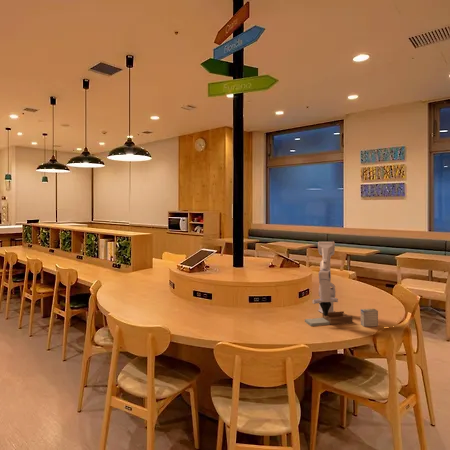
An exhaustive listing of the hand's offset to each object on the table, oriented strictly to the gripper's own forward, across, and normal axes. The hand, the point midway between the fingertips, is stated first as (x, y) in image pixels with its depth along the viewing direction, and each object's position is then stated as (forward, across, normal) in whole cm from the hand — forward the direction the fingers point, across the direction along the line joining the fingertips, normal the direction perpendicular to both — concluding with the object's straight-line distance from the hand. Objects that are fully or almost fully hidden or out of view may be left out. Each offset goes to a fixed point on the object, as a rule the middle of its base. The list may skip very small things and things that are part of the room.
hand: (325, 315), depth 202 cm
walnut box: (+4, +7, 0) cm, 8 cm away
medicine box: (+4, +20, -11) cm, 23 cm away
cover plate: (+4, -5, 0) cm, 7 cm away
